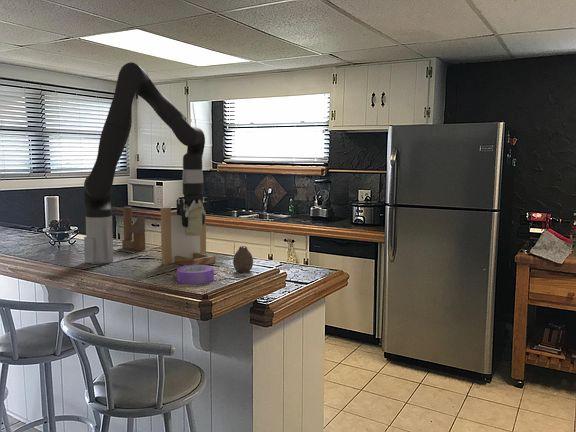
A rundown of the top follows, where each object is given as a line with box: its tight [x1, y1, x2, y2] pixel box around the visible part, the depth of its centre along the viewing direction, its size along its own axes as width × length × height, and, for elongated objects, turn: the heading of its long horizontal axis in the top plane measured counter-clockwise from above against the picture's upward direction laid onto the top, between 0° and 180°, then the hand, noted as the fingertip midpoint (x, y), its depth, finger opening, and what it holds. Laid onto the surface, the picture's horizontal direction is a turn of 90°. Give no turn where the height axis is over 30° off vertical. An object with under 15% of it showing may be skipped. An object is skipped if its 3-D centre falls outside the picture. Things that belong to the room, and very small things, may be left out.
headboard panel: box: [160, 203, 207, 266], centre depth 189 cm, size 20×3×21 cm, turn 141°
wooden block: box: [121, 206, 146, 251], centre depth 213 cm, size 4×11×18 cm, turn 58°
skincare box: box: [185, 202, 203, 236], centre depth 185 cm, size 6×4×12 cm
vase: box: [232, 245, 254, 273], centre depth 172 cm, size 7×7×9 cm
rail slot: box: [174, 253, 216, 266], centre depth 186 cm, size 10×11×2 cm
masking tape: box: [176, 264, 215, 285], centre depth 160 cm, size 12×12×4 cm
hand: (193, 225), depth 185 cm, fingers closed on skincare box, 7 cm apart
